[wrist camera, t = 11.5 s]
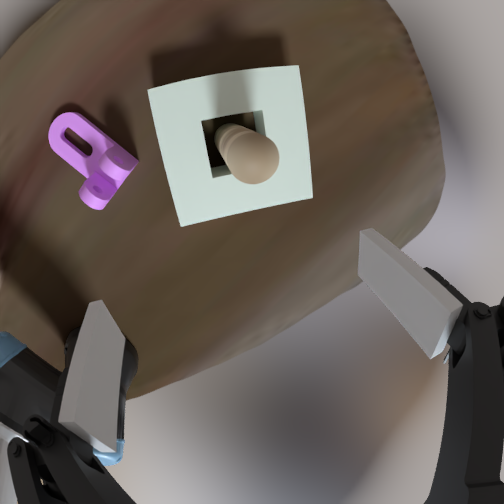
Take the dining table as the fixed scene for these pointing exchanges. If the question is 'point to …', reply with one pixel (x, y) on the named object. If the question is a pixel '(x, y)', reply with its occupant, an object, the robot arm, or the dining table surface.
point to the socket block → (222, 104)
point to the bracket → (92, 158)
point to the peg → (247, 153)
